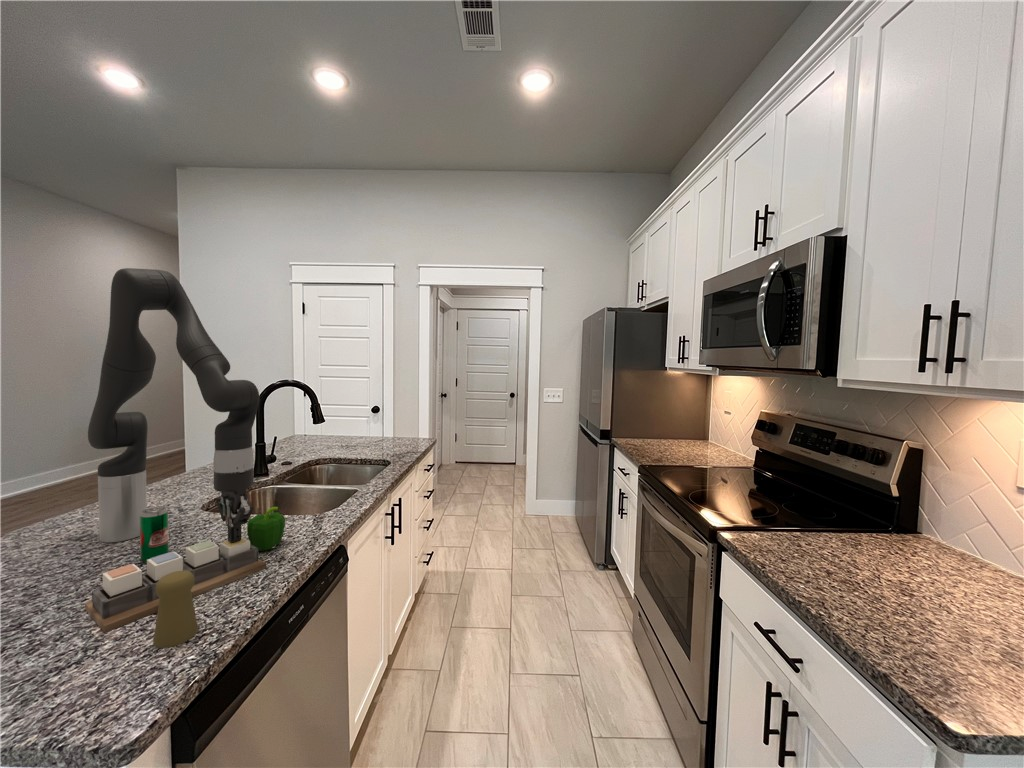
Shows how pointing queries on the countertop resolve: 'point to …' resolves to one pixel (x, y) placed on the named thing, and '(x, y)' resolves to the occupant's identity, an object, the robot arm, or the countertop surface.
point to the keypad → (146, 601)
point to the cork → (175, 610)
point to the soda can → (153, 533)
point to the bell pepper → (266, 529)
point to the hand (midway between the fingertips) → (234, 541)
